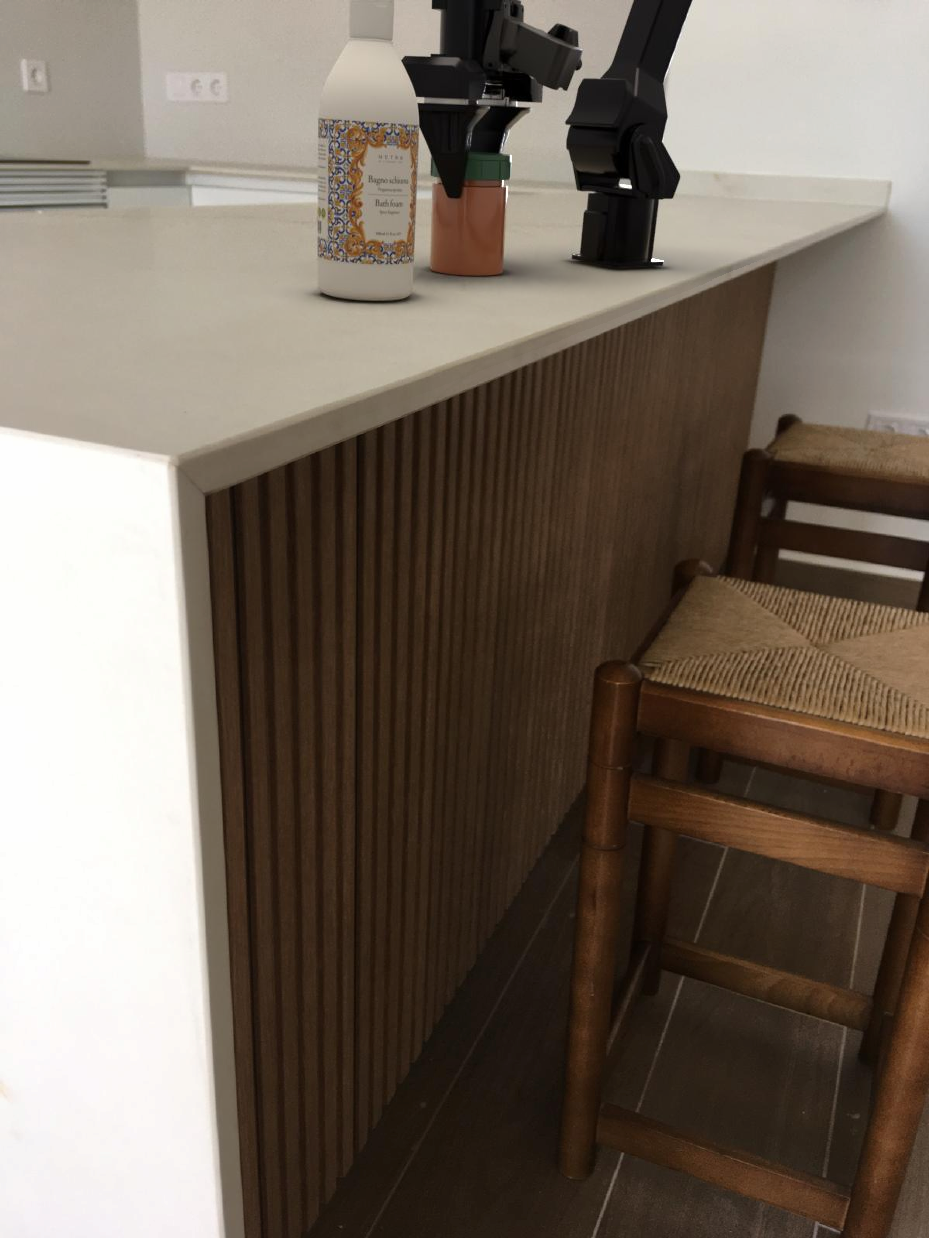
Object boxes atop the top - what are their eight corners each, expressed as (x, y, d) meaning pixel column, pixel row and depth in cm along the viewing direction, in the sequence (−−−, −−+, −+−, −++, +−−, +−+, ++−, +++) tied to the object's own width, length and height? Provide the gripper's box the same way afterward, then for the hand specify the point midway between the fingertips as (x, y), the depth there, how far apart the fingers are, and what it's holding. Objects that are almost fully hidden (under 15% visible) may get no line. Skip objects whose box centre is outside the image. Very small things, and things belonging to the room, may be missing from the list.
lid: (415, 176, 89) (415, 151, 88) (455, 174, 94) (456, 150, 94) (486, 181, 86) (487, 156, 85) (524, 179, 91) (525, 155, 91)
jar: (475, 264, 98) (479, 161, 94) (517, 274, 93) (524, 166, 89) (415, 267, 94) (418, 161, 90) (456, 277, 89) (461, 165, 86)
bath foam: (341, 303, 74) (346, -31, 66) (302, 288, 80) (302, -23, 71) (428, 301, 78) (444, -17, 69) (386, 286, 83) (395, -11, 75)
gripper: (538, -31, 74) (523, 210, 80) (607, -4, 89) (590, 196, 96) (391, -32, 77) (389, 200, 84) (483, -6, 93) (475, 187, 100)
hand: (469, 196), depth 91 cm, fingers closed on lid, 6 cm apart
